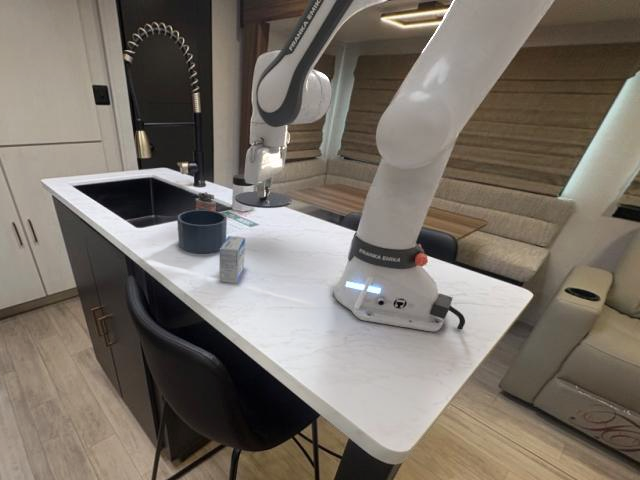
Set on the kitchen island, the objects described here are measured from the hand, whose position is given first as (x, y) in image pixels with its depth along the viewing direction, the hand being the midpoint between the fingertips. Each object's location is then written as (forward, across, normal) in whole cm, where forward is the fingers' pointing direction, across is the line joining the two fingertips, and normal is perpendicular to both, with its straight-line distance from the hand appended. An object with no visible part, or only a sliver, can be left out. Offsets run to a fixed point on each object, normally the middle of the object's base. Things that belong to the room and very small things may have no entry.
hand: (263, 195), depth 81 cm
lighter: (+15, +11, +24) cm, 31 cm away
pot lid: (+1, 0, 0) cm, 1 cm away
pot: (+15, -7, +15) cm, 22 cm away
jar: (+15, +33, +20) cm, 42 cm away
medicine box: (+15, -19, 0) cm, 24 cm away
